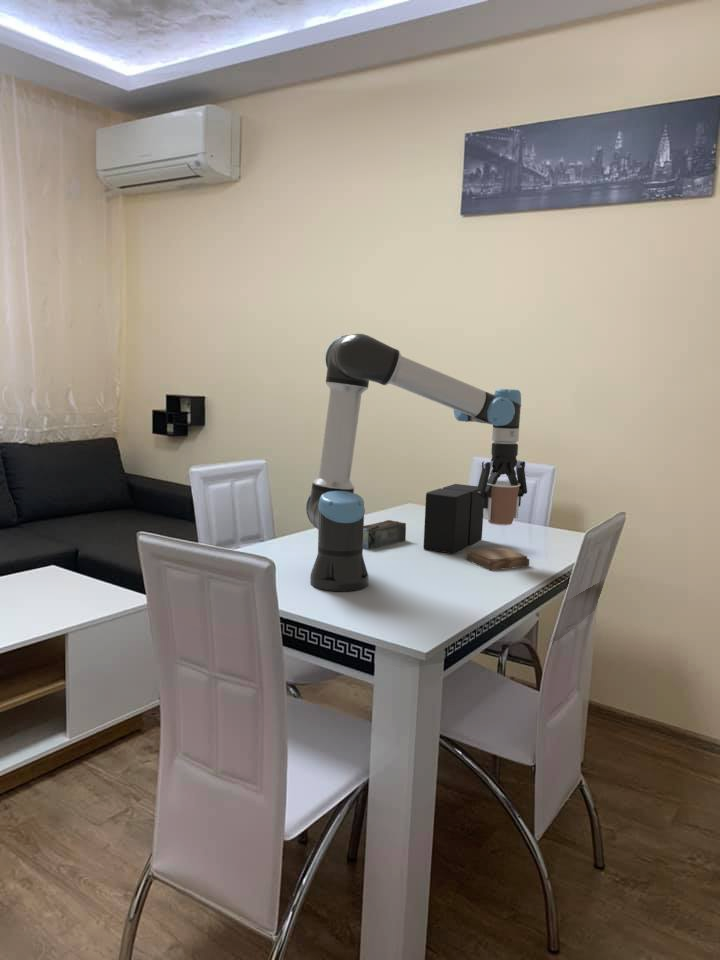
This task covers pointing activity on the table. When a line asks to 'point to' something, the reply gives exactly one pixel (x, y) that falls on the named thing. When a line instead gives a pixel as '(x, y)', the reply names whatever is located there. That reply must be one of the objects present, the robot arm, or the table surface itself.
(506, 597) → the table surface
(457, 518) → the speaker
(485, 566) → the stand
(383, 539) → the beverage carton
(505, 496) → the coffee cup
